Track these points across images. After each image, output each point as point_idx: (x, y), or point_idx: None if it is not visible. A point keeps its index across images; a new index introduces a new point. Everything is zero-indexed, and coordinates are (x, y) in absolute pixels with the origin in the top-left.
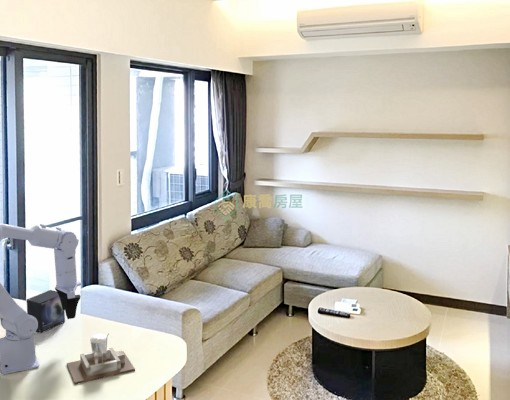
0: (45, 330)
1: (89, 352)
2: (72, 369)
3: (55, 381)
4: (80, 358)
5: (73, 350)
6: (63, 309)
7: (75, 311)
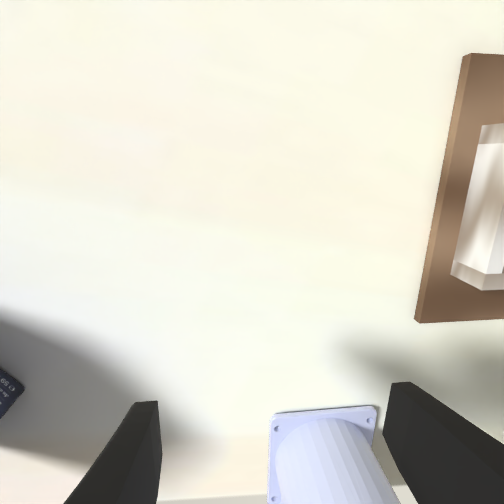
0: (3, 374)
1: (492, 247)
2: (481, 310)
3: (500, 362)
4: (467, 282)
5: (295, 278)
6: (159, 460)
7: (476, 431)
